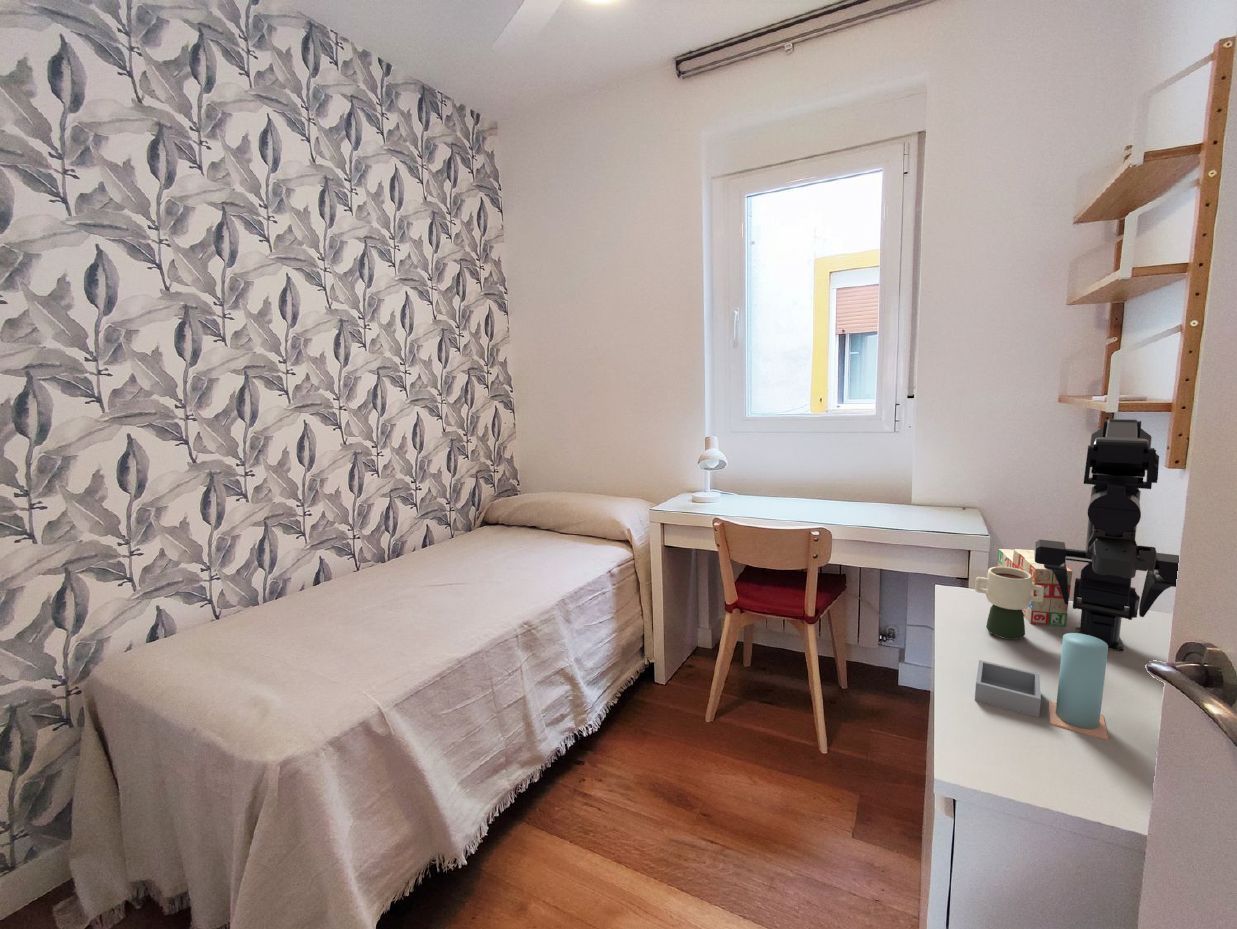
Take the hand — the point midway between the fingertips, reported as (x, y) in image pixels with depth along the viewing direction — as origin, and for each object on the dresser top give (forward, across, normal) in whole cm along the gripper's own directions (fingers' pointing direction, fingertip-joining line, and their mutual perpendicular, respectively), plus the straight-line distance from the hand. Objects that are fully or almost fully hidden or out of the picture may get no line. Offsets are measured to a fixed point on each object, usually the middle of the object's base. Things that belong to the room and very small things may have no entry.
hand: (1102, 609), depth 88 cm
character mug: (+13, -12, +12) cm, 22 cm away
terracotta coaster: (+13, -3, -14) cm, 20 cm away
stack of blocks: (+13, -9, +31) cm, 35 cm away
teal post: (+12, -3, -14) cm, 19 cm away
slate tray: (+13, -12, -12) cm, 22 cm away
